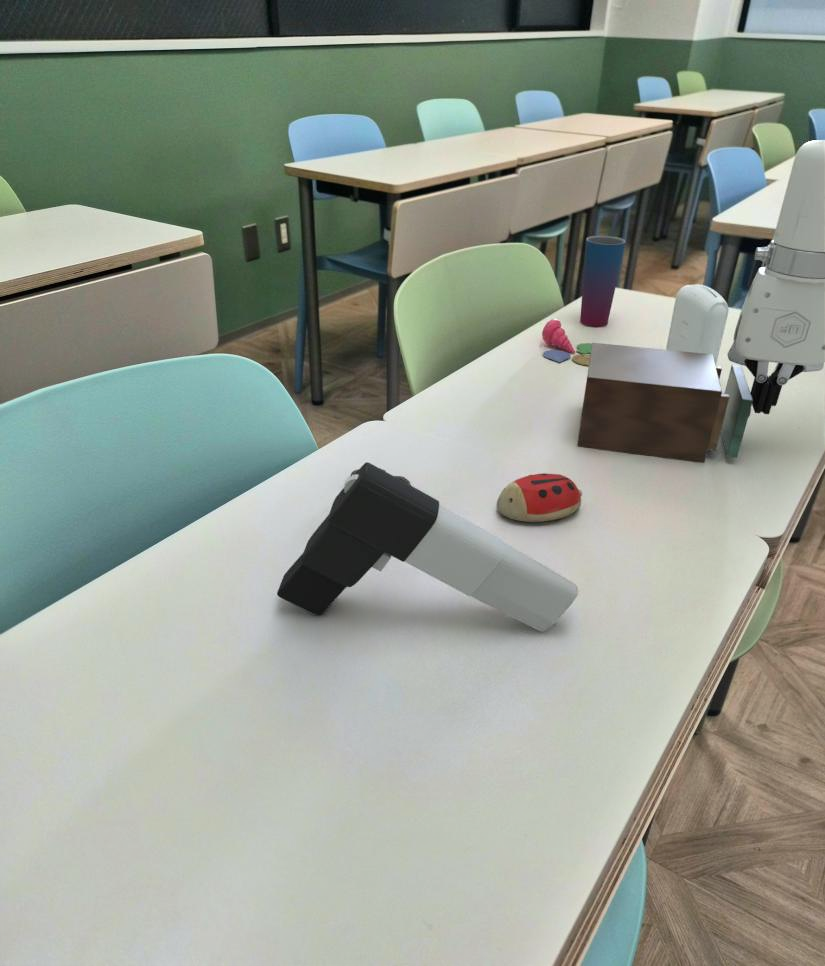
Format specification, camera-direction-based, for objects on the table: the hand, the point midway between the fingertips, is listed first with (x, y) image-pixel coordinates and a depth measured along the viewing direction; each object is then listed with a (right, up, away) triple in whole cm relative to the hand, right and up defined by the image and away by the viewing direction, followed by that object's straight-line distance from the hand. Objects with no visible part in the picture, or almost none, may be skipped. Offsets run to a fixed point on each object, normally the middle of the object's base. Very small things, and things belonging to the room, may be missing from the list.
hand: (760, 409), depth 92 cm
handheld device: (-43, -21, -26) cm, 54 cm away
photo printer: (+1, +10, +28) cm, 30 cm away
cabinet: (-13, -3, +6) cm, 15 cm away
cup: (-10, +20, +45) cm, 50 cm away
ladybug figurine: (-30, -12, -11) cm, 34 cm away
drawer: (-9, -2, +4) cm, 10 cm away
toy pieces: (-17, +12, +31) cm, 38 cm away
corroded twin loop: (-47, -10, -8) cm, 49 cm away
